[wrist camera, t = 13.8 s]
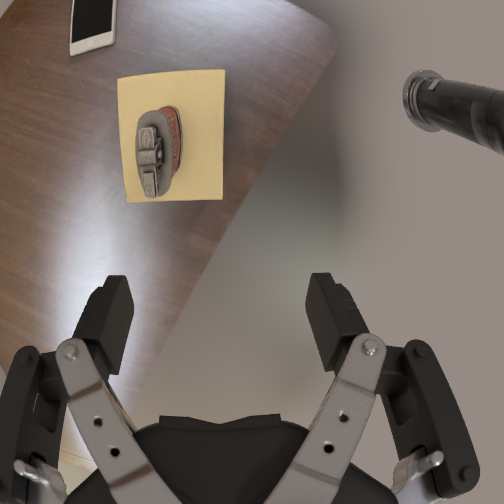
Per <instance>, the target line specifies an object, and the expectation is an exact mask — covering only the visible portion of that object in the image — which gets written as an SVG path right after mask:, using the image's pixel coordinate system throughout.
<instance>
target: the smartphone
mask: <svg viewBox="0 0 504 504" xmlns="http://www.w3.org/2000/svg"><path fill="white" fill-rule="evenodd" d="M116 6H117V0H73V5H72V16H71V31H70V55H71V56H75V55H78V54H81V53H84V52H87V51H91V50H94V49H97V48H101V47H104V46H108V45H112V44H114V43H115V25H116Z"/></svg>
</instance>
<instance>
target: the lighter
mask: <svg viewBox="0 0 504 504" xmlns="http://www.w3.org/2000/svg"><path fill="white" fill-rule="evenodd" d="M182 153H183V132H182V123H181V119H180V114H179V111H178V109H177V108H176V107H174V106H169V105H167V106H163V107H161V108H159V109H158V110H152V111H148V112H146V113H144V114H143V115H141V117H140V118H139V120H138V123H137V130H136V138H135V157H136V164H137V170H138V175H139V178H140V181H141V185H142V188H143V190H144V195H145V197H146V198H147V199H154V198H156V197H160V196H163V195H164V194H166V193H167V192H168V190H169V188H170V185H171V180H172V178H173V176H174V174H175V173H176V172H177V171H178V170H179V168H180V165H181V159H182Z"/></svg>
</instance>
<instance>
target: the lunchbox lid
mask: <svg viewBox="0 0 504 504" xmlns="http://www.w3.org/2000/svg"><path fill="white" fill-rule="evenodd" d="M224 93H225V70H188V71H174V72H162V73H153V74H145V75H137V76H131V77H124V78H118V115H119V132H120V145H121V156H122V166H123V175H124V183H125V190H126V197H127V203H134V202H153V201H178V200H222V199H223V129H224ZM167 105H169V106H174V107H176V108H177V109H178V111H179V114H180V119H181V123H182V132H183V153H182V159H181V165H180V168H179V170H178V171H177V172H176V173H175V174H174V176H173V178H172V180H171V185H170V188H169V190H168V192H167V193H166V194H164V195H163V196H160V197H156V198H154V199H147V198H146V197H145V195H144V190H143V188H142V185H141V181H140V178H139V175H138V170H137V164H136V157H135V138H136V130H137V123H138V120H139V118H140V117H141V115H143V114H144V113H146V112H148V111H152V110H158V109H159V108H161V107H163V106H167Z"/></svg>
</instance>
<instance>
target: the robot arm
mask: <svg viewBox="0 0 504 504" xmlns="http://www.w3.org/2000/svg"><path fill="white" fill-rule="evenodd" d="M413 104H414V108H415V111H416V113H417V115H418V117H419V118H420V119H421V120H422V121H423V122H424V123H425V124H427V125H430V126H434V127H437V128H440V129H443V130H446V131H448V132H451V133H453V134H456V135H458V136H461V137H463V138H466V139H468V140H470V141H473V142H475V143H477V144H480V145H482V146H484V147H486V148H488V149H491V150H493V151H495V152H497V153H499V154H501V155H503V156H504V91H501V90H498V89H493V88H489V87H484V86H480V85H475V84H470V83H465V82H459V81H453V80H446V79H440V78H435V77H424V78H422V79H421V80H419V81H418V83H417V84H416V86H415V88H414V92H413ZM305 304H306V305H305V307H306V313H307V316H308V319H309V322H310V325H311V328H312V331H313V334H314V338H315V341H316V344H317V347H318V350H319V354H320V357H321V360H322V363H323V367H324V369H325V372H328V371H334V373H335V379H334V380H333V382H332V384H331V386H330V389H329V390H328V393H327V394H326V396H325V398H324V400H323V402H322V404H321V406H320V408H319V410H318V412H317V413H316V415H315V417H314V419H313V420H312V422H311V424H310V425H309V427H308V429H306V428H305V427H302V426H300V425H298V424H295V423H291V422H288V421H281V417H280V414H270V415H257V416H249V417H245V418H242V419H238V420H234V421H231V422H227V423H223V424H215V423H211V422H207V421H202V420H198V419H194V418H191V417H177V416H160V417H159V423H154V424H151V425H148V426H146V427H143V428H141V429H140V430H138V429H137V428H136V426H135V425H134V424H133V422H132V421H131V419H130V418H129V417H128V415H127V413H126V412H125V410H124V408H123V407H122V405H121V403H120V402H119V400H118V398H117V396H116V395H115V393H114V391H113V389H112V387H111V386H110V384H109V382H108V379H109V375H110V374H112V375H119V370H120V366H121V361H122V357H123V353H124V349H125V345H126V341H127V337H128V333H129V330H130V326H131V322H132V319H133V315H134V303H133V299H132V295H131V292H130V289H129V285H128V281H127V278H126V276H124V275H109V276H108V277H107V279H106V281H105V283H104V285H103V287H98V288H97V289H96V290H95V291H94V292H93V293H92V294H91V295H90V297H89V299H88V301H87V305H86V306H85V308H84V312H82V315H81V317H80V319H79V322H78V324H77V326H76V329H75V331H74V334H73V336H72V338H70V339H67V340H65V341H63V342H62V343H61V344H60V345H59V346H58V348H57V350H56V351H54V352H48V353H42V354H40V353H39V351H38V350H37V349H36V348H35V347H34V346H24V347H22V348H21V349H19V350H18V351H17V353H16V354H15V356H14V359H13V361H12V364H11V367H10V369H9V372H8V375H7V378H6V381H5V384H4V387H3V390H2V393H1V397H0V504H436V503H439V502H442V501H445V500H448V499H451V498H453V497H456V496H459V495H461V494H464V493H466V492H468V491H470V490H472V489H473V488H474V487H475V486H476V484H477V482H478V480H479V477H480V467H479V464H478V460H477V457H476V454H475V450H474V447H473V444H472V441H471V439H470V436H469V433H468V430H467V427H466V425H465V422H464V420H463V417H462V414H461V412H460V409H459V407H458V405H457V402H456V400H455V397H454V395H453V393H452V390H451V388H450V386H449V384H448V381H447V379H446V377H445V375H444V373H443V371H442V368H441V366H440V364H439V362H438V360H437V358H436V356H435V354H434V352H433V350H432V348H431V347H430V346H429V345H428V344H427V343H425V342H424V341H421V340H416V339H415V340H411V341H409V342H408V343H407V344H406V346H405V347H404V348H402V347H392V346H387V345H385V343H384V342H383V341H382V340H381V339H380V338H379V337H378V336H376V335H373V334H370V332H369V330H368V328H367V326H366V324H365V322H364V320H363V318H362V316H361V314H360V312H359V310H358V308H357V306H356V304H355V302H354V301H353V298H352V296H351V294H350V292H349V291H348V290H347V289H346V288H345V287H344V286H343V285H342V284H335V282H334V280H333V278H332V276H331V274H330V273H312V275H311V278H310V283H309V287H308V292H307V296H306V302H305ZM37 394H38V395H37ZM376 394H380V395H381V398H382V402H383V405H384V408H385V411H386V415H387V418H388V421H389V424H390V428H391V432H392V435H393V439H394V442H395V446H396V450H397V453H398V457H399V462H398V463H397V465H396V466H395V469H394V472H393V486H392V488H391V490H390V489H389V488H388V487H386V486H385V485H383V484H382V483H380V482H379V481H377V480H376V479H374V478H372V477H371V476H369V475H368V474H367V473H365V472H364V471H363V470H361V469H359V468H358V467H357V466H355V465H354V464H353V463H351V462H350V461H351V458H352V456H353V454H354V452H355V450H356V447H357V445H358V443H359V441H360V438H361V436H362V433H363V431H364V429H365V426H366V423H367V421H368V418H369V416H370V413H371V410H372V407H373V405H374V402H375V399H376ZM36 396H37V399H36ZM35 400H36V403H35ZM34 404H35V407H34ZM67 404H68V407H69V409H70V412H71V414H72V416H73V419H74V421H75V423H76V425H77V428H78V430H79V432H80V434H81V436H82V438H83V440H84V442H85V444H86V446H87V448H88V450H89V452H90V454H91V456H92V458H93V460H94V461H95V463H96V465H97V467H98V468H97V469H96V470H95V471H94V472H93V473H92V474H91V475H90V476H89V477H88V478H87V479H86V480H85V481H83V482H82V483H81V484H80V485H79V486H78V487H77V488H76V489H75V490H74V491H72V492H71V493H70V494H69V495H67V493H66V484H65V483H64V480H63V477H62V475H61V474H60V472H59V471H58V470H57V469H58V459H59V450H60V442H61V435H62V428H63V422H64V416H65V411H66V406H67ZM33 408H34V412H33Z"/></svg>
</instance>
